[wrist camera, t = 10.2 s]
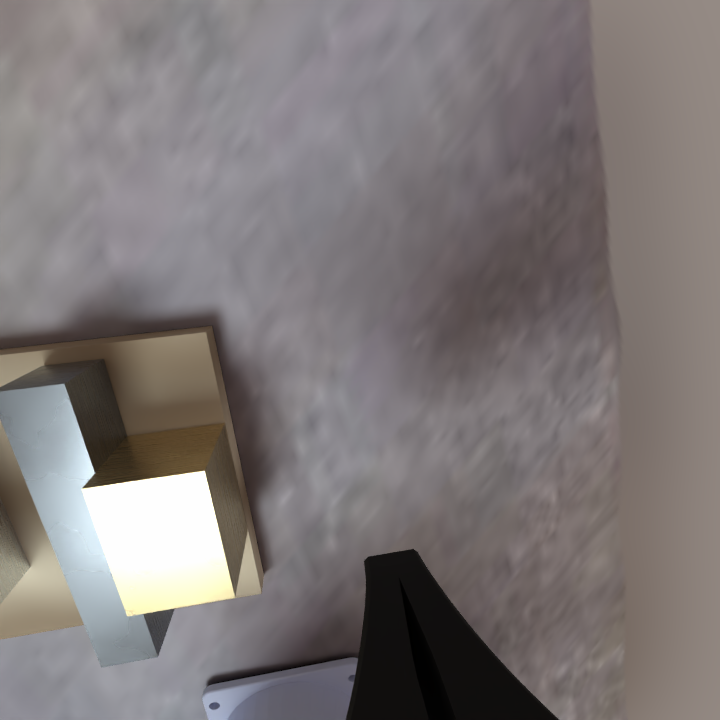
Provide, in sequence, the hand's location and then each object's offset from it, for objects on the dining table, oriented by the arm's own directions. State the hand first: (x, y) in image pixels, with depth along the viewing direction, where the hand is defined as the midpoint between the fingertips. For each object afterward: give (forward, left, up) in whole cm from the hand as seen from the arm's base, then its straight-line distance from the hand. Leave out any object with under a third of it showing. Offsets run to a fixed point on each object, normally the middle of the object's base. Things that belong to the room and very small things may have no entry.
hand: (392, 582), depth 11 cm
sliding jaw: (0, +8, -6) cm, 10 cm away
